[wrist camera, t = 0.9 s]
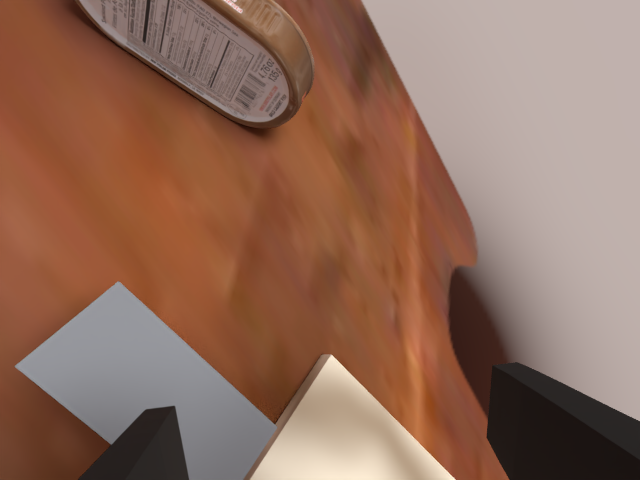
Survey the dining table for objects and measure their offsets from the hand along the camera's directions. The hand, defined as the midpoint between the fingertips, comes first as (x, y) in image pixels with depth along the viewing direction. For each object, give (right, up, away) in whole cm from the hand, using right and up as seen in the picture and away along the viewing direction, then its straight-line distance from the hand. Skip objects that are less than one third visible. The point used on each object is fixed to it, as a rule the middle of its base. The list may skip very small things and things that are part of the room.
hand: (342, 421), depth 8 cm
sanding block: (-10, -4, +10) cm, 15 cm away
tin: (-10, +15, +16) cm, 25 cm away
